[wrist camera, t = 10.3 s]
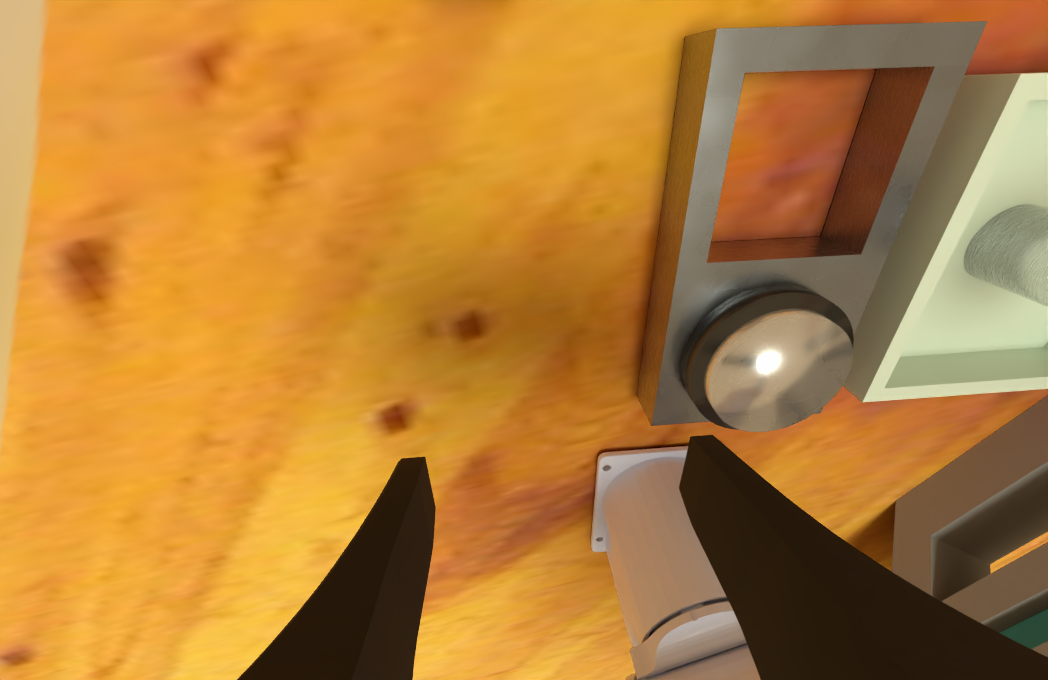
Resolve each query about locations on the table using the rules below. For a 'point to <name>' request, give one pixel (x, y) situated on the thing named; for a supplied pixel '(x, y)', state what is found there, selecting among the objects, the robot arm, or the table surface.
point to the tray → (961, 258)
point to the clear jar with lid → (1013, 252)
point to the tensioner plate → (788, 263)
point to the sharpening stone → (984, 531)
